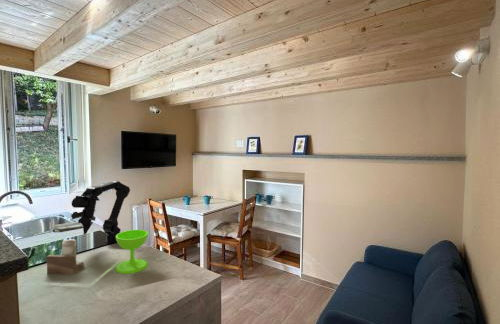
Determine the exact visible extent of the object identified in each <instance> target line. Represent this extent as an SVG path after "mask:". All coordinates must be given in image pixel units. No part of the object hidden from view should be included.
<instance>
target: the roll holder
mask: <svg viewBox="0 0 500 324" xmlns="http://www.w3.org/2000/svg"><path fill="white" fill-rule="evenodd" d="M79 262H80V263H79V264H77V265H76V266H75V256H62V254H61V255H60V254H59V255H55V254H48V255H47V256H46V273H47V274H49V275H69V276H71V275H72V276H73V275H74V274H75V273H77V272H79V271H80V270H81V269H84V267H85V266H84V265H85V264H84V263H85V262H84V261H79Z"/></svg>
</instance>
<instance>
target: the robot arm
mask: <svg viewBox="0 0 500 324" xmlns="http://www.w3.org/2000/svg"><path fill="white" fill-rule="evenodd" d="M111 190H114V191H115V195H116V198H115V201H114V204H113V206H112V210H111V212H110V215H109V217H108V218H107V219H105V220H104V221H103V224H102V230H103V232H104V234H106V236H105V242H106V244H108V245H111V244H115V243H116V244H117V241H116V235H117V234H119V233H121V230H122V229H121V228H120V227H119V221H118V219H119V215H120V212H121V209H122V206H123V203H124V201H125V199H126V198H127V197H128V196H129V194H130V192H131V189H130V186H128V185H125V184H124V183H121V182H120V181H119V180H113V181H110V182H106V183H104V184H102V185H99V186H98V185H97V186H88V187H86V189H85V190H84V192H82V194H81V195H75V197H74V198H73V199H72V200H71V206H72V208H74V209H76V208H78V209H79V208H80V209H81V208H82V210H81V211H79V212H78V211H73V212H72V213H71V214H70V217H71V219H72V220H76V219H78V220H77V222H78V223H80V224H81V225H82V226H83V228H82V229H83V230H82V231H83V235H86V234H87V233H88V231H89V230H90V228H91V227H92V225H93V224H94V222H93V221H96V219H97V218H96V216H95V212H96V206H97V205H96V204H97V201H98V202H99V201H100V199H99V196H101V195H102V194H103V193H104V192H107V191H111Z"/></svg>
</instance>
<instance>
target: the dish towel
mask: <svg viewBox="0 0 500 324" xmlns="http://www.w3.org/2000/svg"><path fill="white" fill-rule="evenodd" d="M51 229H52V230H53V232H54V233H60V232H66V231H71V230H73V231H74V230H78V229H83V225H82V224H81V223H78V221H74V222H66V223H64V222H63V223H60V224H53V225H51Z"/></svg>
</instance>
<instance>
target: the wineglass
mask: <svg viewBox="0 0 500 324" xmlns="http://www.w3.org/2000/svg"><path fill="white" fill-rule="evenodd" d="M148 236H149V232H148V231H147V230H144V229H130V230H129V229H128V230H125V231H122V232H121V231H120V233H119V234H117V235H116V241H117V242H116V244H117V245H118V246H119V247H120V248H122V249H124V250H128V251H130V253H129V254H130V255H129V256H130V257H129V260H128V259H127V260H125V261H122V262H120V263H119V264H118V265H116V267H115V271H116V272H117V273H118V274H125V275H130V274H135V273H139V272H141V271H143V270H145V269H146V268H148V264H149V263H148V262H147V260H145V259H140V258H135V250H137V249H139V248H140V247H142V246H143V245H144V244H145V242H146V241H147V239H148Z"/></svg>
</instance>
